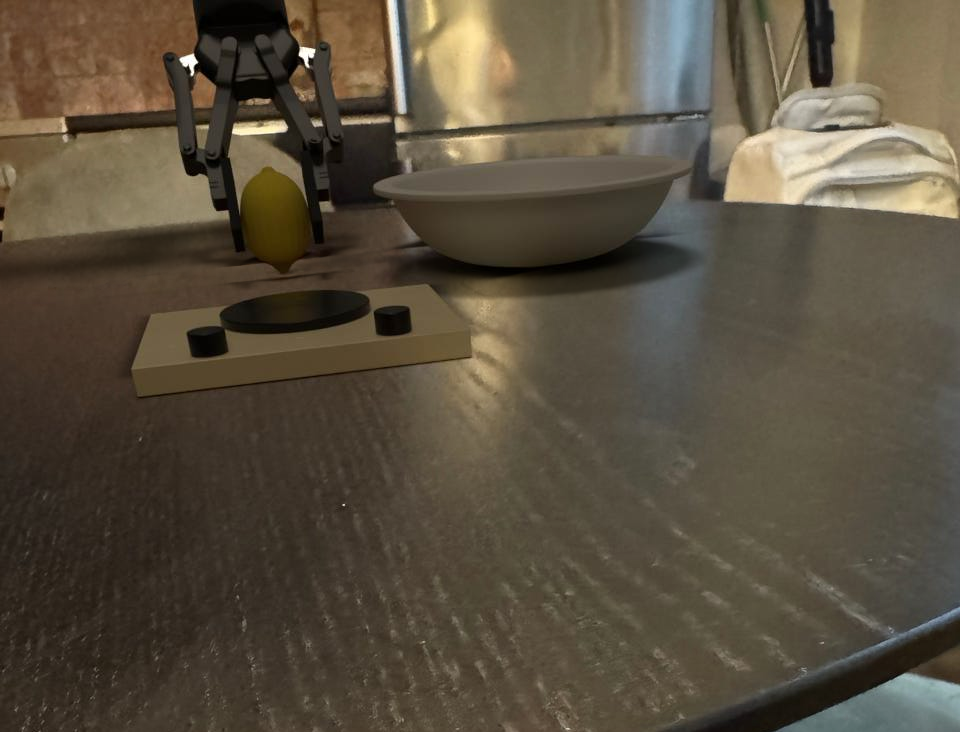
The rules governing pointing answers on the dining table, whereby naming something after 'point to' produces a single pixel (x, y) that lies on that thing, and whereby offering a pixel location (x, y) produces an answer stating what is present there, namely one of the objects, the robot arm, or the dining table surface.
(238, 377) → the cooktop
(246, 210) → the lemon
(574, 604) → the dining table surface
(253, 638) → the dining table surface
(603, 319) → the dining table surface
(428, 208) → the soup bowl
